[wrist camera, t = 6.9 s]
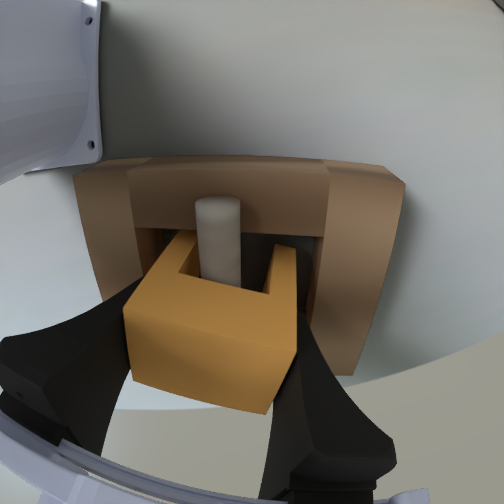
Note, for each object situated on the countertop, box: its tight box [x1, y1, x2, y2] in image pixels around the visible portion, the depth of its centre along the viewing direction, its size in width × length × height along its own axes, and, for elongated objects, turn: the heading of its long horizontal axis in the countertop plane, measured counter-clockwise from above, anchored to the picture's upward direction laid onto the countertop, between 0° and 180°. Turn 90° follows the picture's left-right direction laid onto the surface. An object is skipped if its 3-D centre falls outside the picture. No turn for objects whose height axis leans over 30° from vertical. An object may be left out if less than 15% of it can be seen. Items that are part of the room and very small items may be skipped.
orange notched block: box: [123, 229, 297, 415], centre depth 12 cm, size 4×5×6 cm
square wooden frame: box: [73, 155, 405, 375], centre depth 14 cm, size 11×14×5 cm
